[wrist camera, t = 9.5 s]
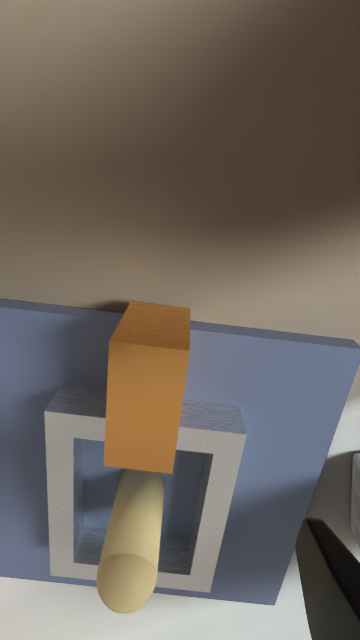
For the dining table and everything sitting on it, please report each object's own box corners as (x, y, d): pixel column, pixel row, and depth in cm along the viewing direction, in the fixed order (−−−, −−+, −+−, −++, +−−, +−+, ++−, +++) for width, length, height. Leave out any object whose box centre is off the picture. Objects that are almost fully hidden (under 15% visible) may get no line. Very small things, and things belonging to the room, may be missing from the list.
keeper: (353, 340, 15) (464, 441, 9) (270, 587, 22) (302, 746, 16) (-38, 294, 15) (-198, 366, 9) (-4, 558, 22) (-83, 707, 15)
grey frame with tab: (207, 554, 19) (212, 640, 16) (64, 538, 19) (33, 621, 16) (259, 316, 14) (284, 362, 10) (60, 292, 14) (12, 329, 10)
